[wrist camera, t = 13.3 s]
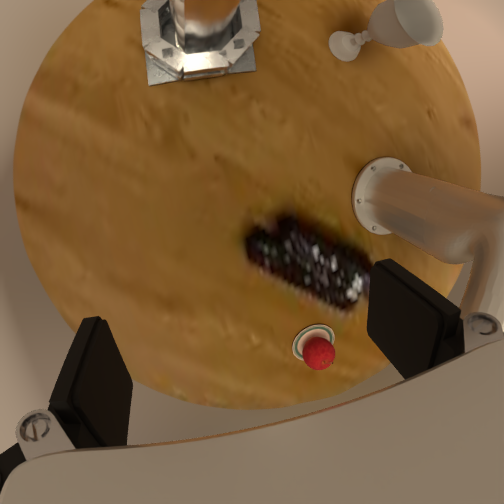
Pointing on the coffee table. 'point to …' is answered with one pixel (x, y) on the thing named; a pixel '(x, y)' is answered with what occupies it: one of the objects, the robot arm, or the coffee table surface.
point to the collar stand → (199, 64)
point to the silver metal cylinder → (201, 23)
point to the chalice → (393, 28)
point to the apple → (315, 346)
